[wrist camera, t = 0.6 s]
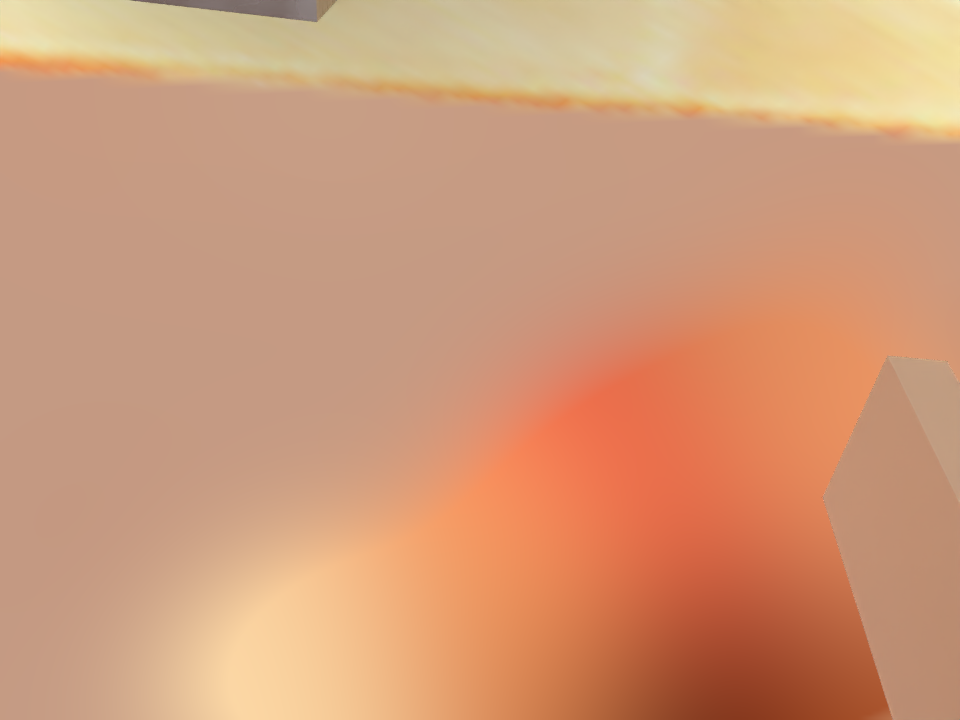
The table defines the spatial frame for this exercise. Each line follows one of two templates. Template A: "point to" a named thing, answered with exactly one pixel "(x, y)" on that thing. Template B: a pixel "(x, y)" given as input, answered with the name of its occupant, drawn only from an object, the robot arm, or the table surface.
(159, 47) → the table surface
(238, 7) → the panel
